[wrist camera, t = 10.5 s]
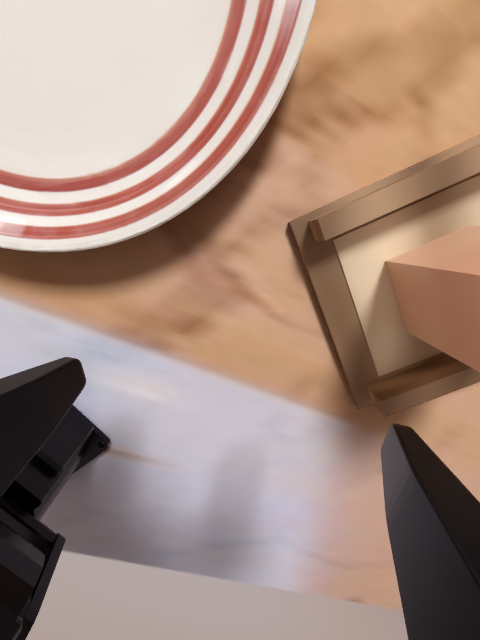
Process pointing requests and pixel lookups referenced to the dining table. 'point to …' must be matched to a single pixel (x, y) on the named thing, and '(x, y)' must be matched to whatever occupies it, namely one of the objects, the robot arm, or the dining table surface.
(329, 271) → the square wooden tray
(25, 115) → the dinner plate
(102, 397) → the dining table surface
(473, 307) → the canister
